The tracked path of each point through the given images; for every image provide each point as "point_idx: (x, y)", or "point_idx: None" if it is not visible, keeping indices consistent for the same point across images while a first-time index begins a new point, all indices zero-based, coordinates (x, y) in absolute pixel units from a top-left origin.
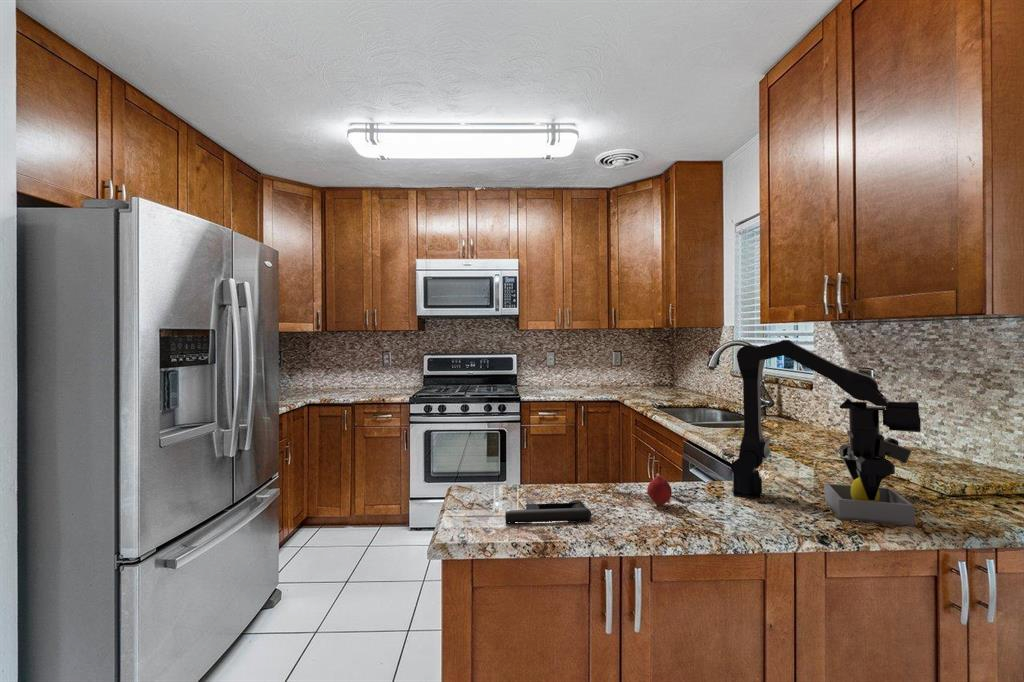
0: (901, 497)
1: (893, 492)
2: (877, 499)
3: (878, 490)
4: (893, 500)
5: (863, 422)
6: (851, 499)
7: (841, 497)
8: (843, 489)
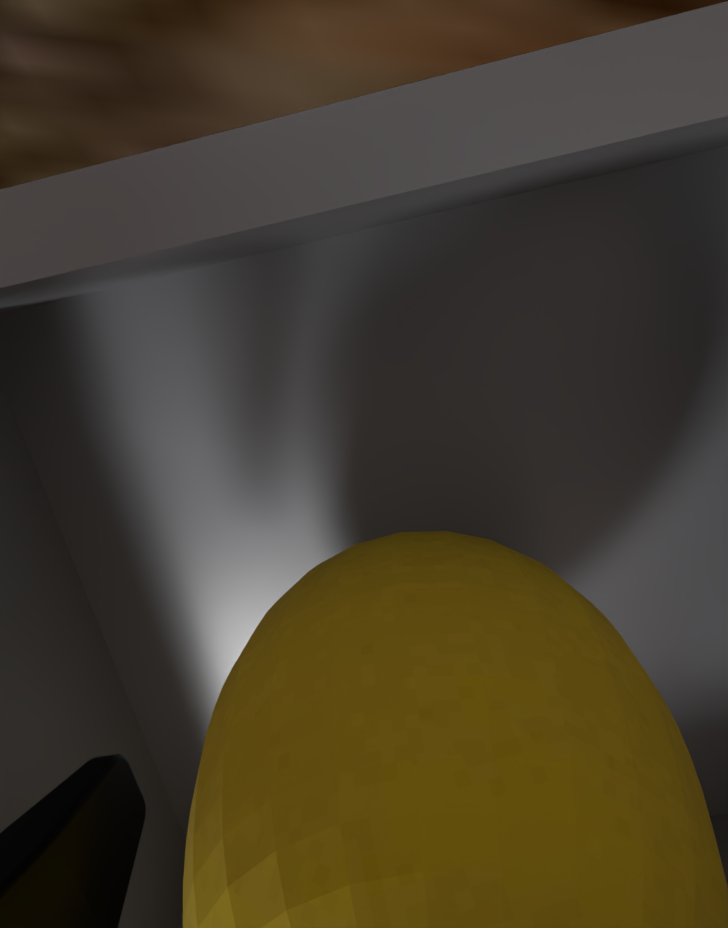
0: (418, 143)
1: (22, 280)
2: (561, 582)
3: (519, 660)
4: (105, 278)
5: None
6: (115, 715)
7: (146, 811)
8: None
